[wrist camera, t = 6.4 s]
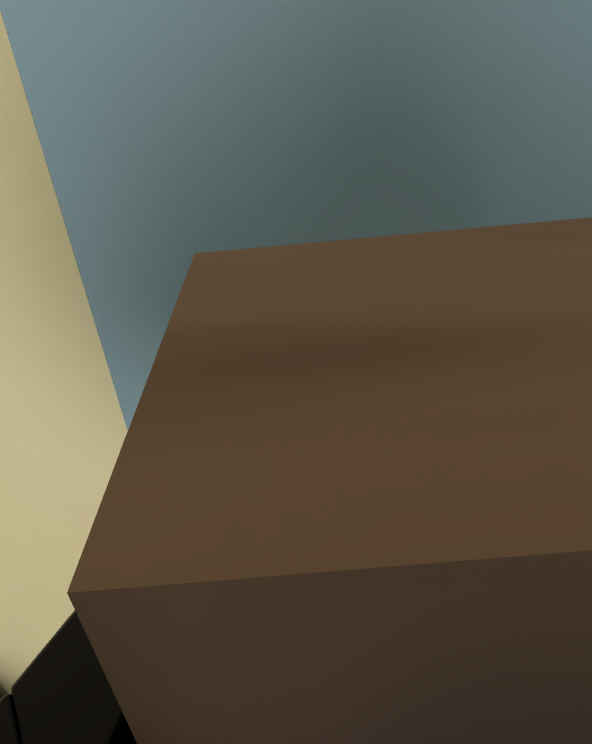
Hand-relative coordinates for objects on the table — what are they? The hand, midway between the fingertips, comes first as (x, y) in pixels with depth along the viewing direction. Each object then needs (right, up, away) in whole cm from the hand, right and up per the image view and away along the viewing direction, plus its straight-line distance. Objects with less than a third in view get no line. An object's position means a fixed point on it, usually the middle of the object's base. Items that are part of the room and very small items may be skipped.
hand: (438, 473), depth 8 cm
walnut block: (0, +1, +1) cm, 1 cm away
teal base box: (-1, +6, +10) cm, 12 cm away
